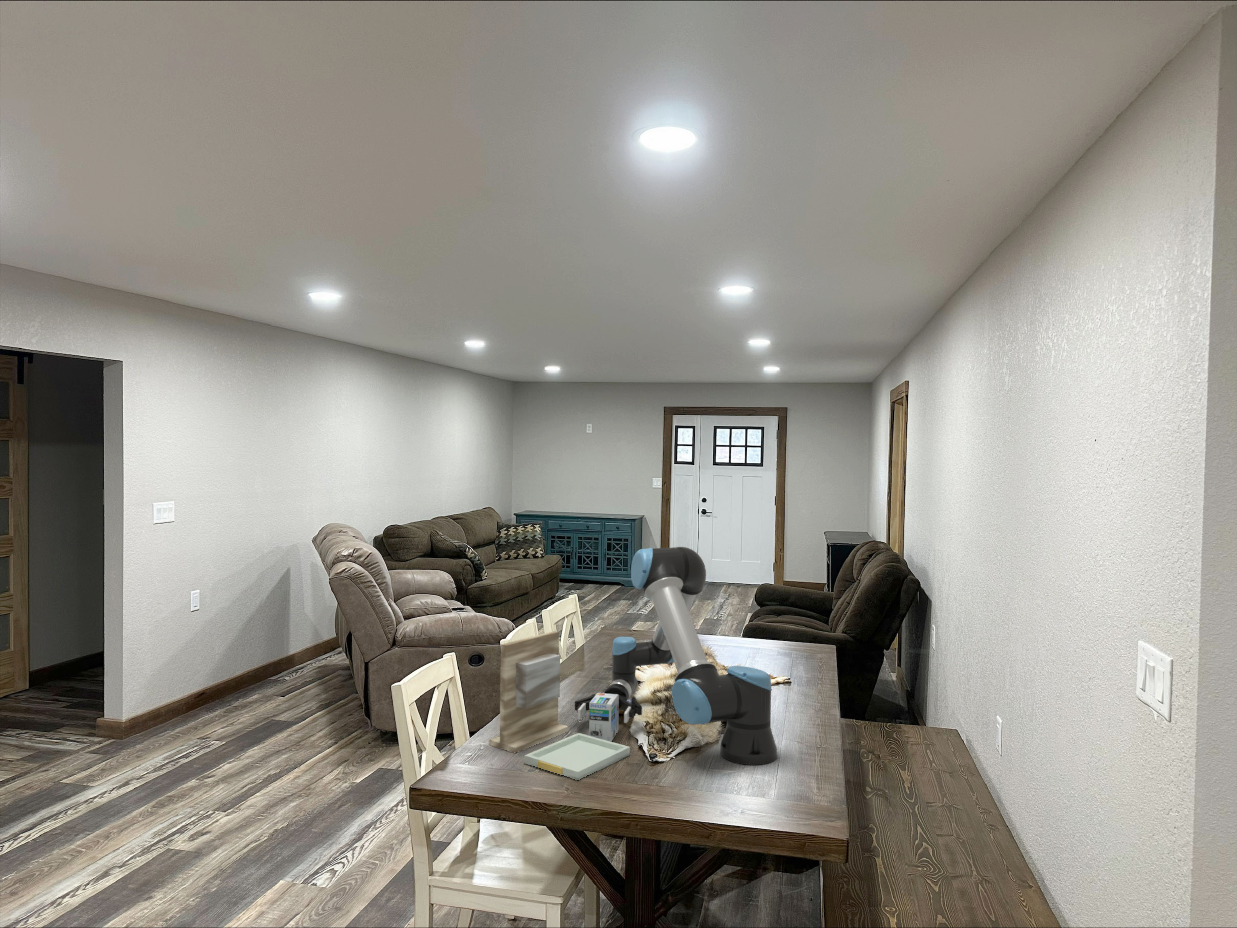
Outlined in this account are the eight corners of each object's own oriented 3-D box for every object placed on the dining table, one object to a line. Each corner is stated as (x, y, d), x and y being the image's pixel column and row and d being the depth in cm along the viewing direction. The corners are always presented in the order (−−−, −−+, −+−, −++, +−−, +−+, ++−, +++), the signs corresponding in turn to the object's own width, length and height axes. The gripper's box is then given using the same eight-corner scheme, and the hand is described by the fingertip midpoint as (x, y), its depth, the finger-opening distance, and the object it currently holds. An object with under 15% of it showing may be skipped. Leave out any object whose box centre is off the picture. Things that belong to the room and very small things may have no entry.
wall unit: (568, 731, 235) (569, 633, 235) (515, 753, 217) (516, 647, 217) (542, 724, 241) (543, 629, 241) (489, 745, 223) (490, 642, 223)
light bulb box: (611, 742, 226) (612, 704, 226) (588, 740, 227) (588, 702, 227) (619, 730, 237) (619, 693, 237) (596, 728, 238) (597, 691, 238)
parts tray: (629, 755, 217) (630, 746, 217) (576, 781, 199) (576, 772, 199) (578, 740, 227) (578, 732, 227) (523, 764, 209) (523, 755, 209)
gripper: (656, 710, 248) (645, 732, 227) (578, 704, 253) (559, 726, 232) (657, 685, 248) (645, 706, 227) (578, 680, 253) (560, 700, 232)
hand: (602, 716), depth 230 cm, fingers open, 13 cm apart
